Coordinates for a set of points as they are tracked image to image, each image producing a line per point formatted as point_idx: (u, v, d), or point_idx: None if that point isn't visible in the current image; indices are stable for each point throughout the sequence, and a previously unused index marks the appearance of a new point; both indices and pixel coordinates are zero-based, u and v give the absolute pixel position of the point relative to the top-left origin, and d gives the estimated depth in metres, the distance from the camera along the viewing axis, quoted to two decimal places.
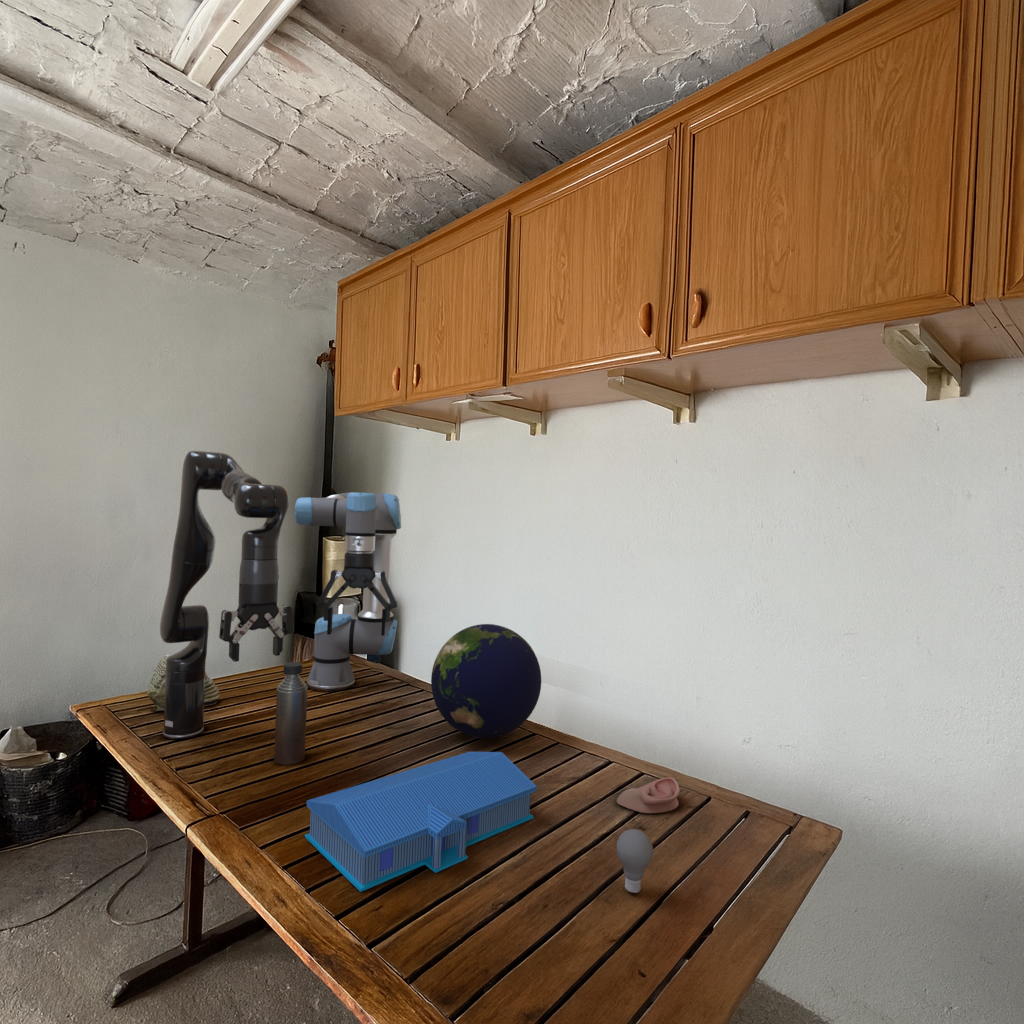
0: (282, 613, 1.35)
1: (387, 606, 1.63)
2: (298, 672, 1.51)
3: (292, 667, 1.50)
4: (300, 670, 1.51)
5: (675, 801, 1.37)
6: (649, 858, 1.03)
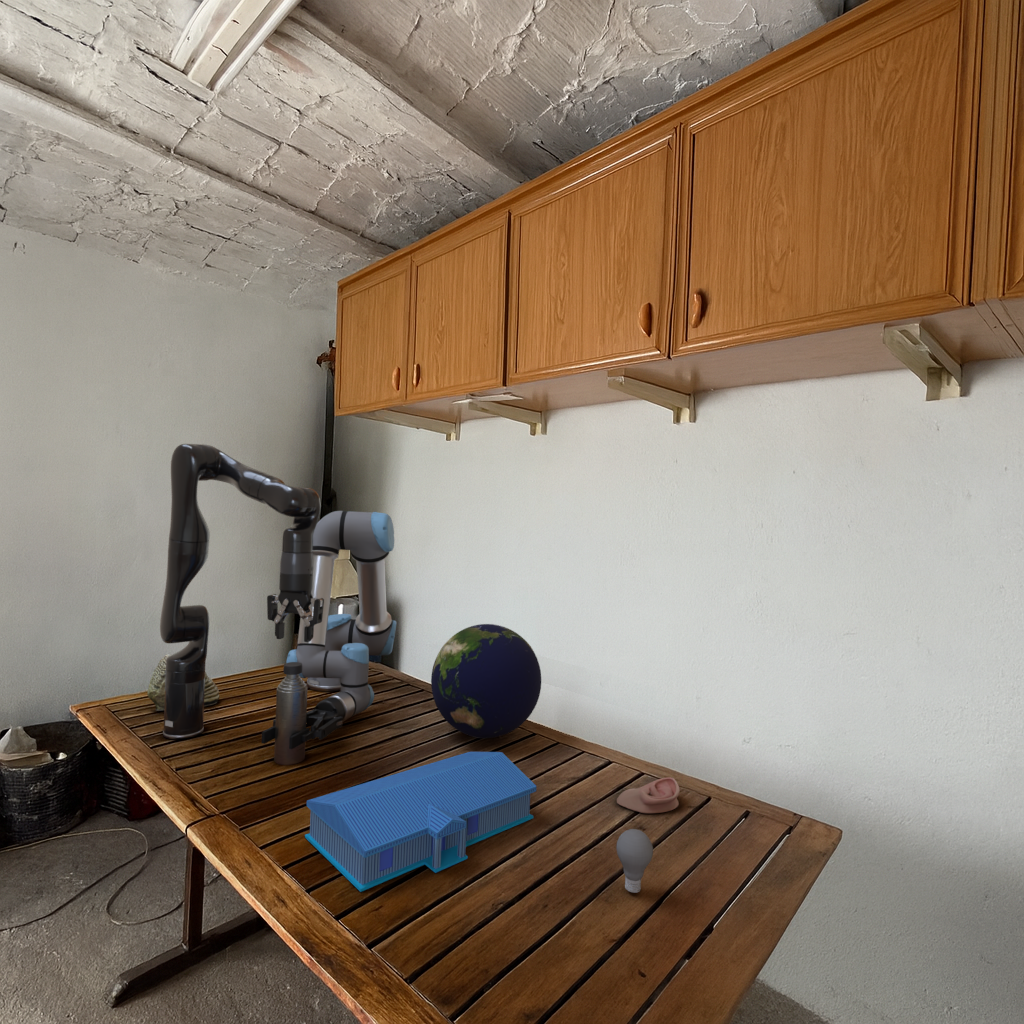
0: None
1: None
2: (298, 672, 1.51)
3: (292, 667, 1.50)
4: (300, 670, 1.51)
5: (675, 801, 1.37)
6: (649, 858, 1.03)
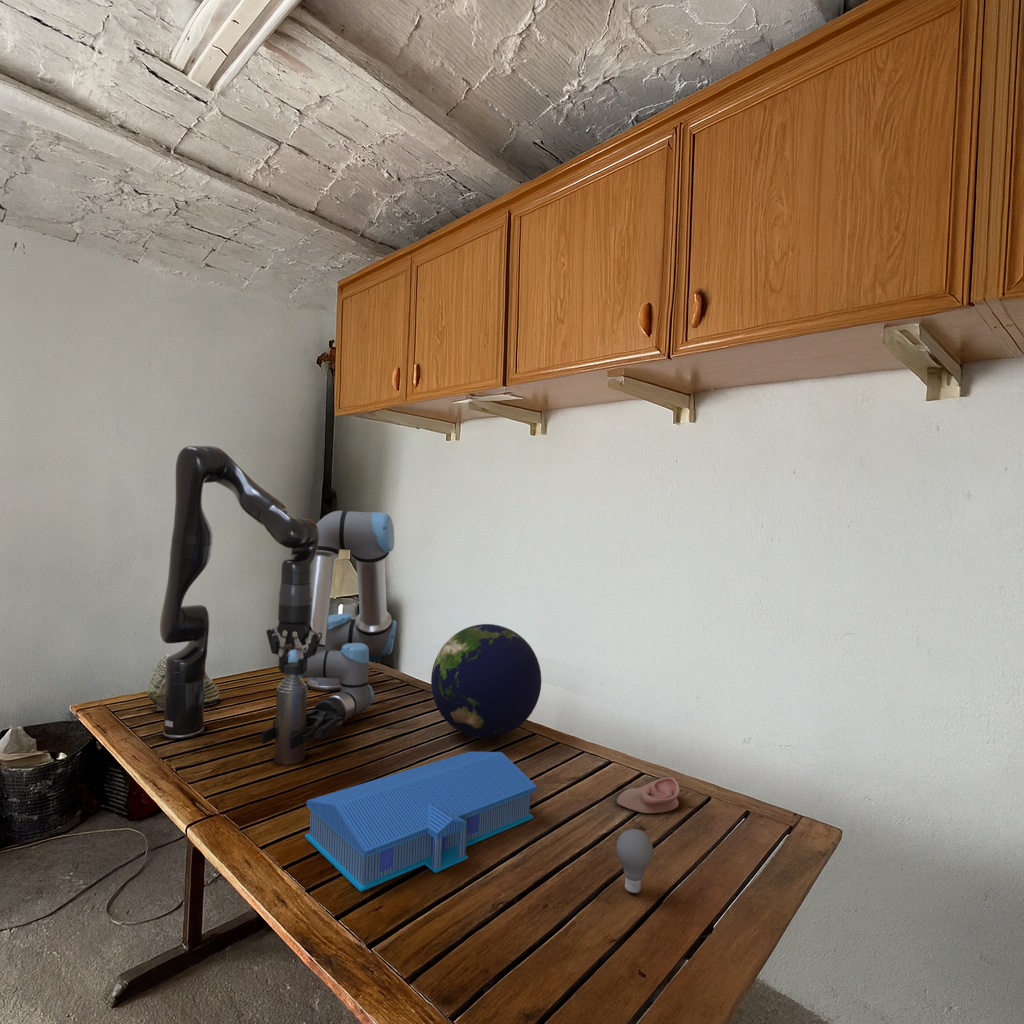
0: None
1: None
2: None
3: (292, 667, 1.50)
4: None
5: (675, 801, 1.37)
6: (649, 858, 1.03)
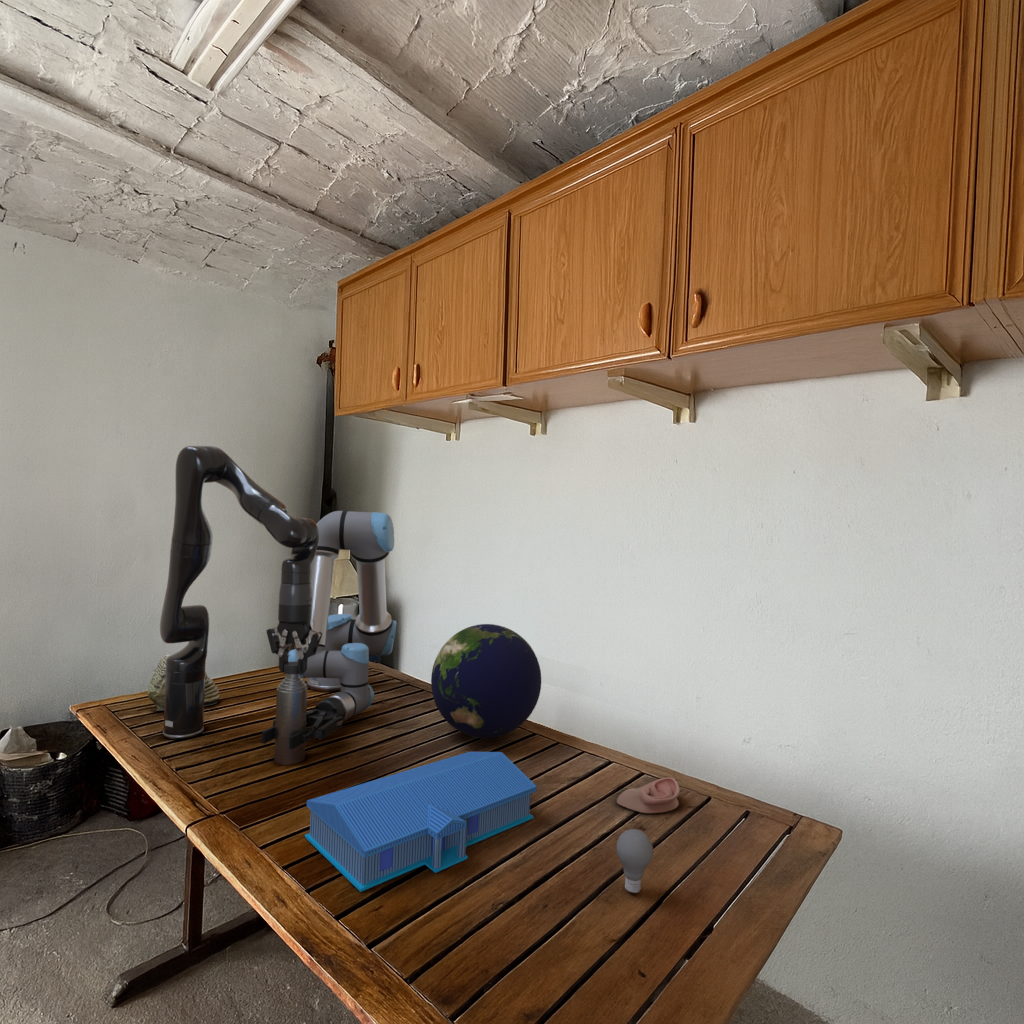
0: None
1: None
2: None
3: None
4: None
5: (675, 801, 1.37)
6: (649, 858, 1.03)
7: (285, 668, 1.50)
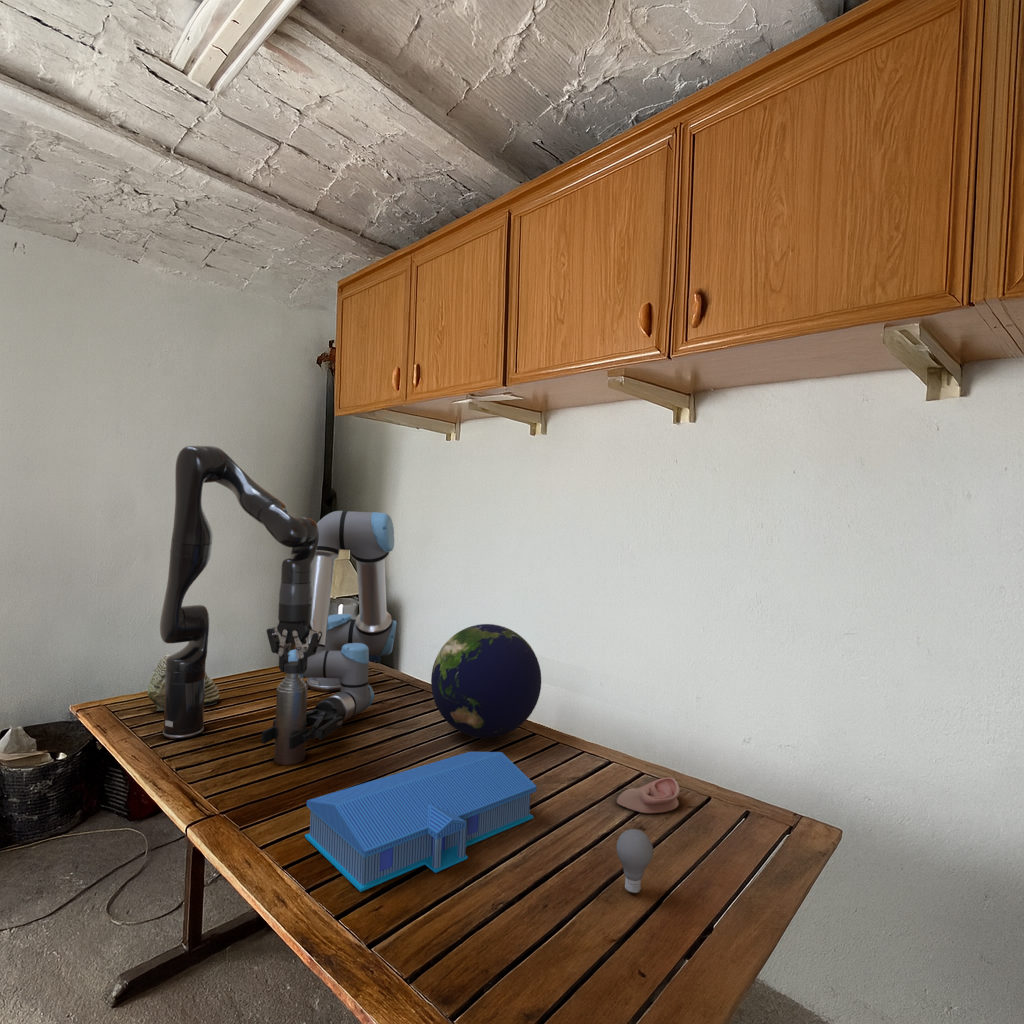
0: None
1: None
2: None
3: None
4: None
5: (675, 801, 1.37)
6: (649, 858, 1.03)
7: None
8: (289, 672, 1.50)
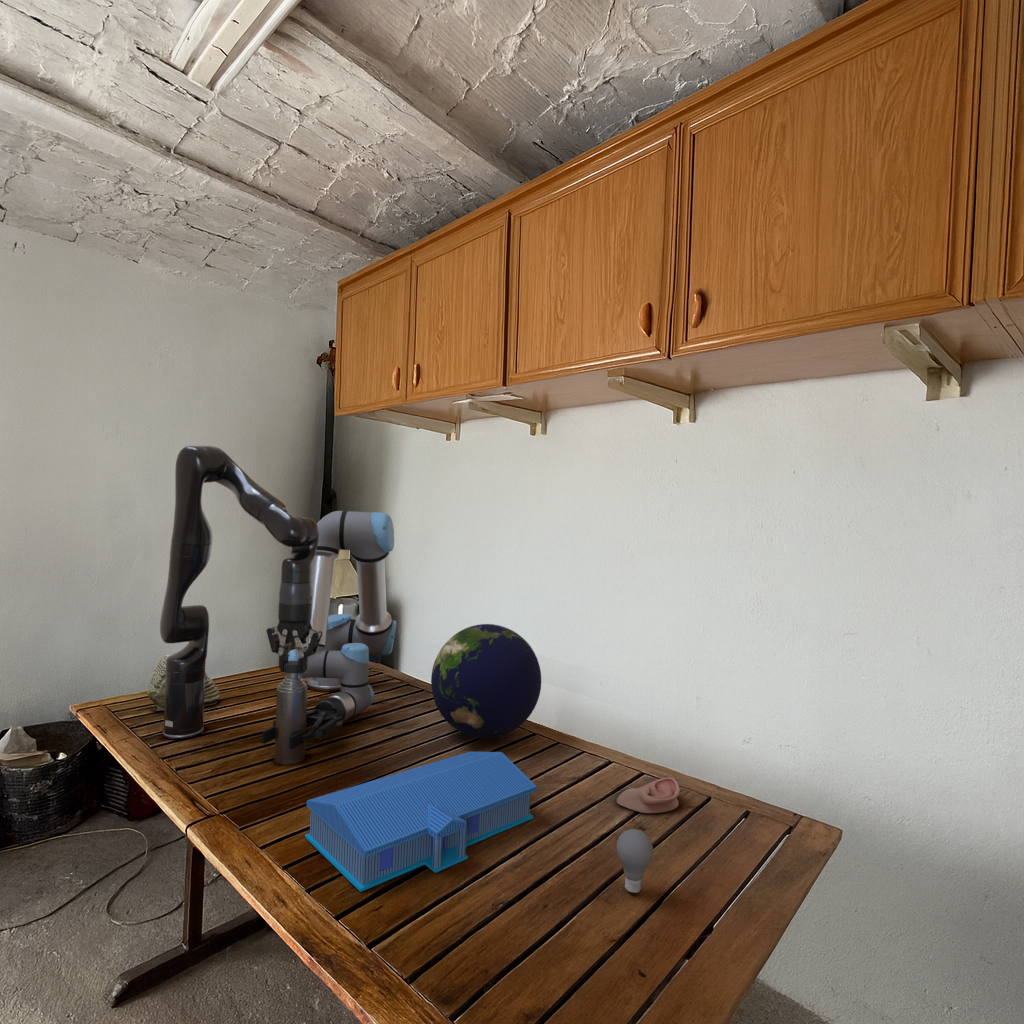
0: None
1: None
2: (290, 671, 1.50)
3: (285, 665, 1.50)
4: (293, 670, 1.50)
5: (675, 801, 1.37)
6: (649, 858, 1.03)
7: None
8: None
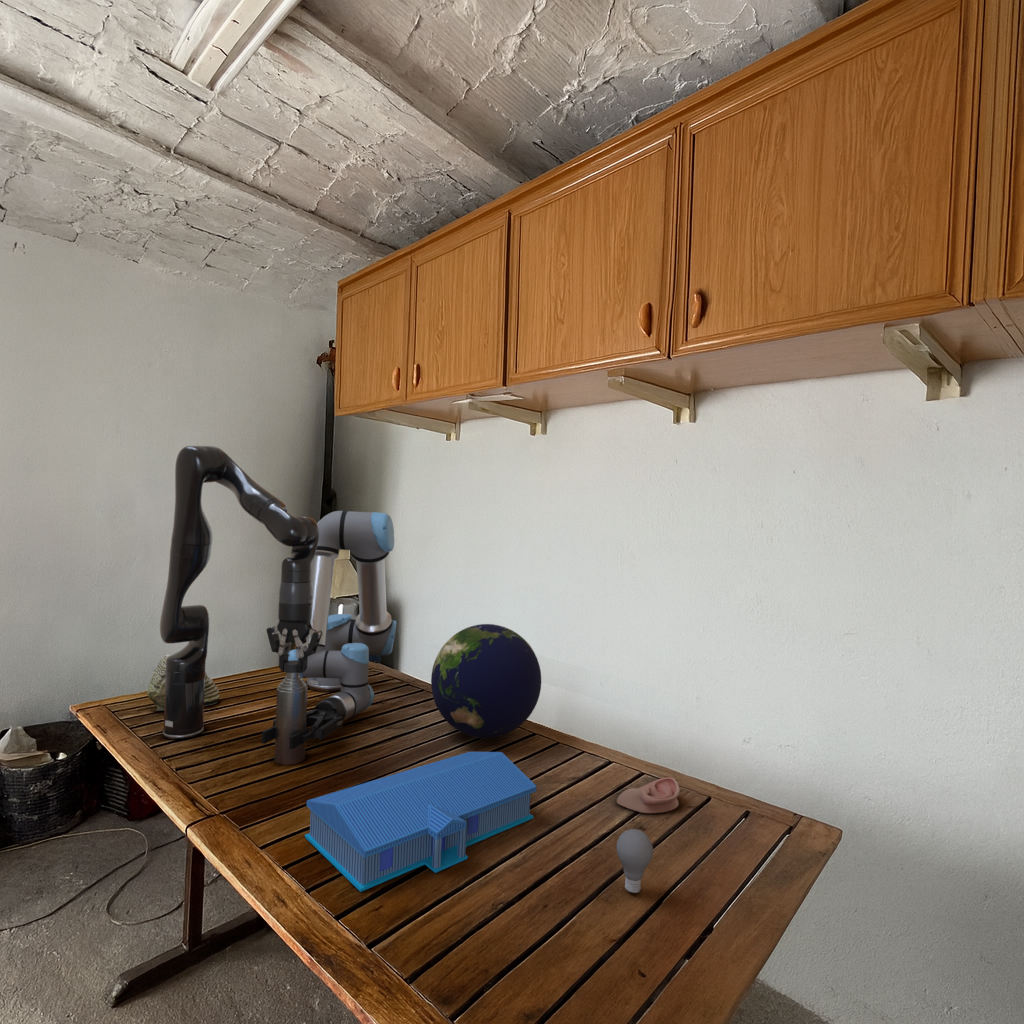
0: None
1: None
2: None
3: None
4: None
5: (675, 801, 1.37)
6: (649, 858, 1.03)
7: None
8: None
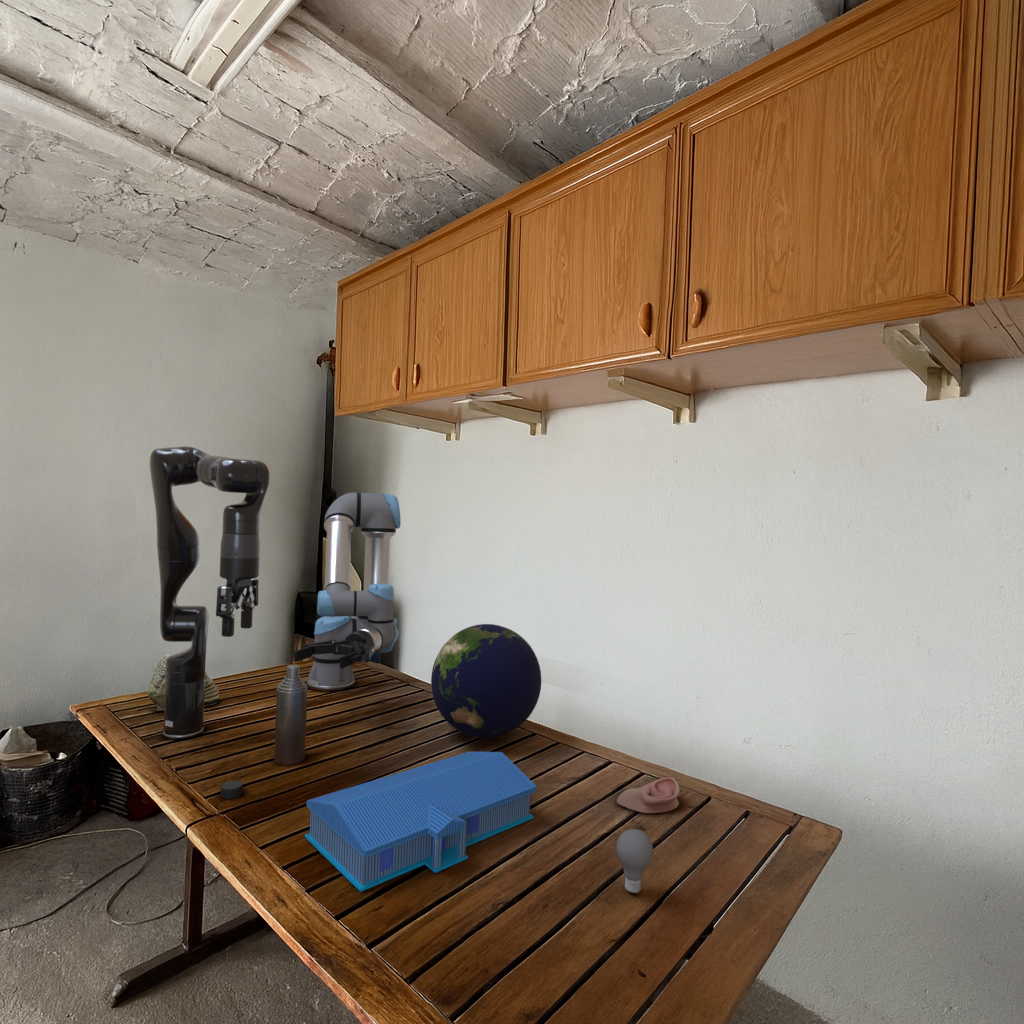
0: None
1: None
2: None
3: None
4: None
5: (675, 801, 1.37)
6: (649, 858, 1.03)
7: (228, 792, 1.31)
8: None
